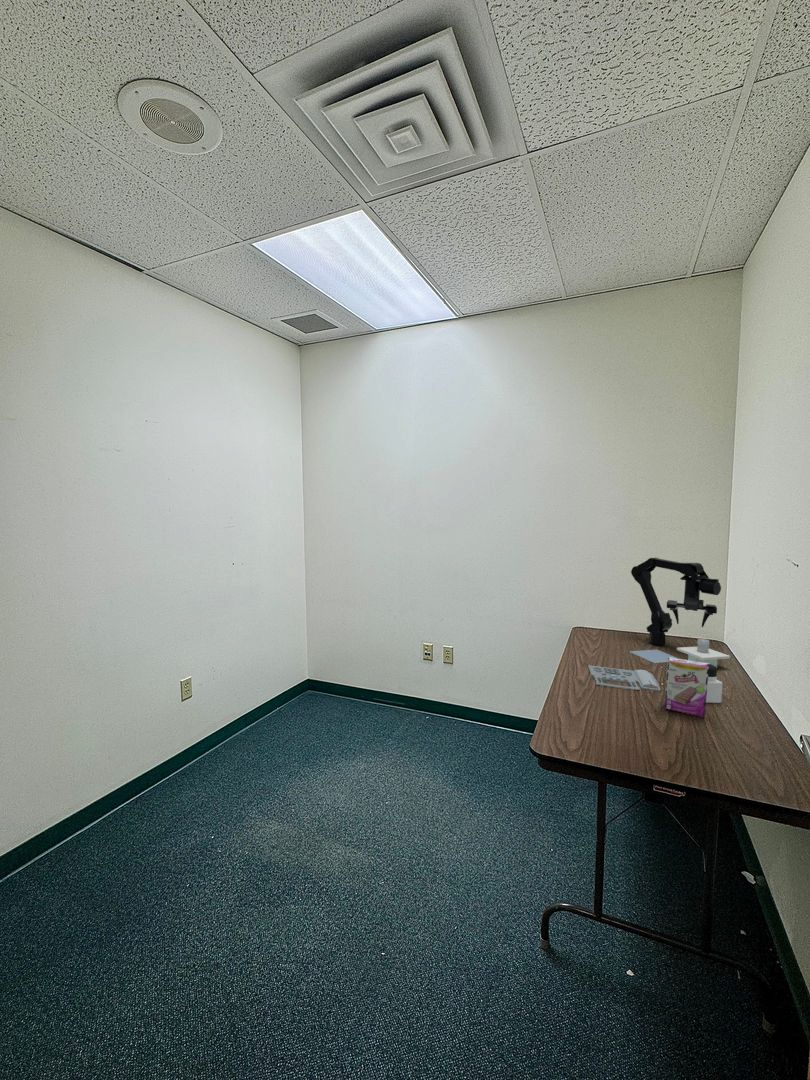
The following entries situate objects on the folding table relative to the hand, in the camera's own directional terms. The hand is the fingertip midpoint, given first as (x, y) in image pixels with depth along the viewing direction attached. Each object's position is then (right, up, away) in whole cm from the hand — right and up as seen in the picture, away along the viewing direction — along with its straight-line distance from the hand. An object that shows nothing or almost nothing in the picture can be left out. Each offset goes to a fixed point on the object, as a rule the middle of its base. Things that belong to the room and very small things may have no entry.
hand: (689, 625), depth 200 cm
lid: (-4, -9, -15) cm, 18 cm away
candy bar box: (-38, -17, -56) cm, 70 cm away
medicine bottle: (-25, -16, -46) cm, 55 cm away
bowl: (-4, -14, -14) cm, 20 cm away
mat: (-18, -13, -4) cm, 22 cm away
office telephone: (-44, -16, -30) cm, 56 cm away
